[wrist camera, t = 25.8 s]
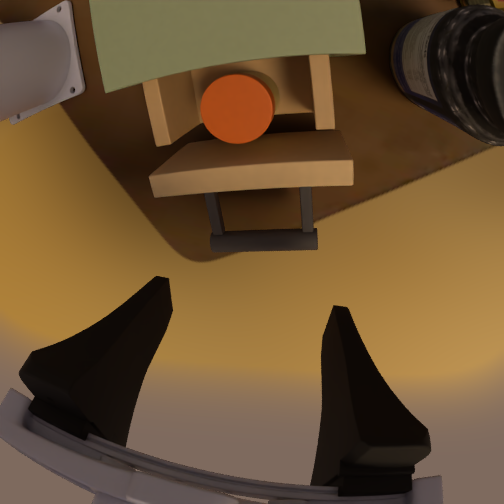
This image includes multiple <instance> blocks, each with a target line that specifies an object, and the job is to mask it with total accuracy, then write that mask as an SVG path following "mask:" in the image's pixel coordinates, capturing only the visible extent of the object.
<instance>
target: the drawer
mask: <svg viewBox="0 0 504 504" xmlns="http://www.w3.org/2000/svg"><path fill="white" fill-rule="evenodd" d="M248 71H257V72H261V73H264V74H266V75H267V76H269V77H270V78H271V79H272V80H273V81H274V82H275V83H276V85H277V87H278V89H279V93H280V102H279V106H278V108H277V110H276V112H275V114H274V115H278V114H292V113H310V112H314V119H315V126H316V129H317V130H321V129H335V118H334V104H333V92H332V81H331V71H330V61H329V55H304V56H289V57H278V58H268V59H259V60H251V61H243V62H236V63H230V64H223V65H217V66H212V67H206V68H201V69H196V70H191V71H187V72H182V73H178V74H173V75H169V76H165V77H161V78H157V79H153V80H150V81H146V82H142V84H143V89H144V94H145V99H146V103H147V108H148V113H149V117H150V122H151V126H152V130H153V135H154V139H155V143H156V146H164V145H170V144H172V143H173V142H174V141H176V140H177V139H179V138H180V137H181V136H183V135H184V134H186V133H187V132H189V131H190V130H191V129H193V128H194V127H196V126H197V125H199V124H200V123H203V120H202V117H201V113H200V104H201V99H202V96H203V94H204V92H205V90H206V88H207V87H208V86H209V85H210V84H211V83H212V82H213V81H215V80H216V79H218V78H220V77H222V76H225V75H229V74H234V73H243V72H248ZM149 180H150V184H151V187H152V191H153V194H154V197H155V198H157V197H167V196H176V195H187V194H198V193H204V196H205V200H206V205H207V209H208V214H209V218H210V223H211V227H212V231H213V232H212V233H211V236H210V246H211V250H212V251H213V252H248V251H291V250H317V249H318V238H317V228H313V206H312V188H311V186H347V185H353V184H354V172H353V159H352V157H351V154H350V152H349V150H348V147H347V145H346V143H345V141H344V138H343V136H342V134H341V132H340V130H330V131H305V132H287V133H273V134H262V135H261V136H260V137H258V138H257V139H255V140H253V141H251V142H247V143H242V144H233V143H227V142H224V141H222V140H220V139H214V140H206V141H199V142H192V143H188V144H186V145H185V146H184V147H183V148H181V149H180V150H179V151H178V152H177V153H175V154H174V155H173V156H172V157H171V158H169V159H168V160H167V161H166V162H165V163H163V164H162V165H161V166H160V167H159V168H158V169H156V170H155V171H154V172H153V173H152V174H151V175H149ZM287 187H299V190H300V203H301V218H302V229H271V230H244V231H225V227H224V222H223V217H222V212H221V207H220V202H219V197H218V192H222V191H236V190H251V189H267V188H287Z"/></svg>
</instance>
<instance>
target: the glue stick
mask: <svg viewBox="0 0 504 504" xmlns="http://www.w3.org/2000/svg"><path fill="white" fill-rule="evenodd" d="M279 102H280V93H279V89H278V87H277V85H276V83H275V82H274V81H273V80H272V79H271V78H270V77H269V76H267V75H266V74H264V73H261V72H257V71H248V72H243V73H234V74H229V75H225V76H222V77H220V78H218V79H216V80H215V81H213V82H212V83H211V84H210V85H209V86H208V87H207V88H206V90H205V92H204V94H203V96H202V99H201V104H200V113H201V117H202V120H203V123H204V125H205V126H206V128H207V129H208V130H209V132H210V133H211V134H213V135H214V136H215V137H216V138H218V139H220V140H222V141H224V142H227V143H233V144H242V143H247V142H251V141H253V140H255V139H257V138H258V137H260V136H261V135H262V134H263V133H264V132H265V131H266V130H267V128H268V127H269V125H270V123H271V121H272V119H273V117H274V114H275V112H276V110H277V108H278V106H279Z"/></svg>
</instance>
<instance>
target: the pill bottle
mask: <svg viewBox="0 0 504 504" xmlns="http://www.w3.org/2000/svg"><path fill="white" fill-rule="evenodd" d="M389 60H390V69H391V72H392V75H393V77H394V79H395V81H396V83H397V85H398V86H399V87H400V89H401V91H402V92H403V93H404V94H405V96H406V97H407V98H408V99H409V100H410V101H411V102H413V103H414V104H416V105H418V106H419V107H421V108H423V109H425V110H427V111H429V112H430V113H432V114H434V115H436V116H438V117H440V118H442V119H443V120H445V121H447V122H449V123H451V124H453V125H454V126H456V127H458V128H459V129H461V130H463V131H464V132H466V133H468V134H469V135H471V136H473V137H474V138H476V139H478V140H480V141H482V142H485V143H487V144H491V145H496V146H504V11H503V10H500V9H498V8H495V7H492V6H488V5H484V4H483V5H480V4H476V5H468V6H463V7H459V8H455V9H451V10H448V11H444V12H440V13H437V14H433V15H429V16H426V17H423V18H420V19H417V20H414V21H411V22H409V23H407V24H405V25H404V26H403V27H402V28H401V29H400V30H399V31H398V32H397V33H396V34H395V36H394V38H393V40H392V43H391V46H390V53H389Z"/></svg>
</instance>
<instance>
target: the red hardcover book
mask: <svg viewBox="0 0 504 504" xmlns="http://www.w3.org/2000/svg"><path fill="white" fill-rule="evenodd" d="M460 3H461V5H462V7H463V6H468V5H476V4H480V5H483V4H484V5H488V6H492V7H495V8H498V9H500V10H503V11H504V0H460Z"/></svg>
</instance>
